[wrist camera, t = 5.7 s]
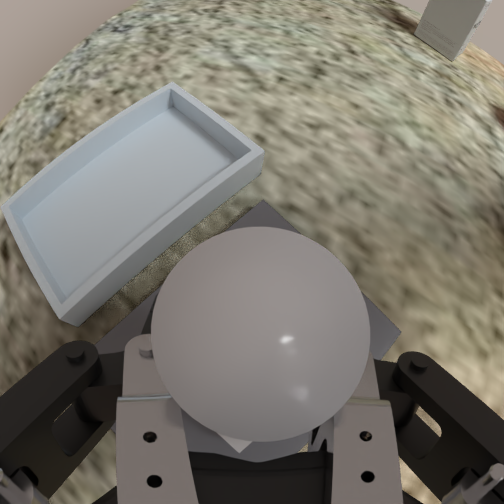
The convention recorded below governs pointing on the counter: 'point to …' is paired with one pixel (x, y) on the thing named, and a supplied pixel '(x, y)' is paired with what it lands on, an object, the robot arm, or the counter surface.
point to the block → (195, 432)
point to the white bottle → (260, 334)
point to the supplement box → (450, 24)
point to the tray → (126, 197)
